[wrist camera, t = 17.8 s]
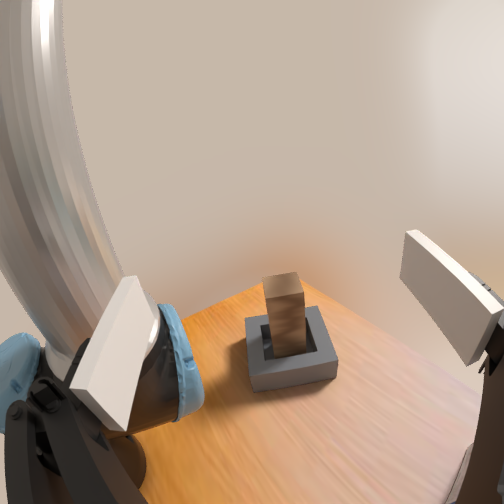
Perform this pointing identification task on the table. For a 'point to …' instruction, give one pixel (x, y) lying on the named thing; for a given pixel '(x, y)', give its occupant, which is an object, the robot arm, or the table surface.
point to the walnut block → (286, 314)
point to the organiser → (294, 367)
